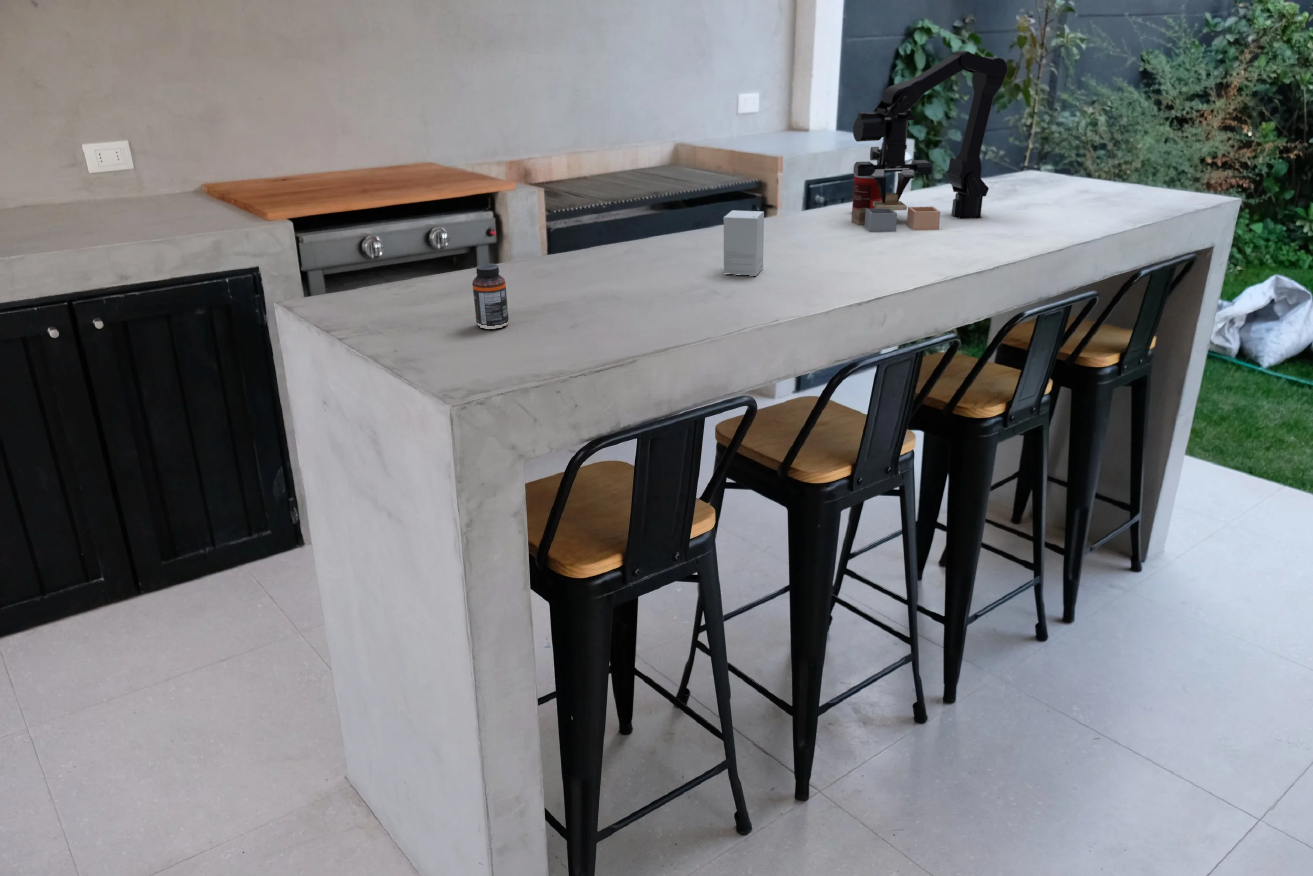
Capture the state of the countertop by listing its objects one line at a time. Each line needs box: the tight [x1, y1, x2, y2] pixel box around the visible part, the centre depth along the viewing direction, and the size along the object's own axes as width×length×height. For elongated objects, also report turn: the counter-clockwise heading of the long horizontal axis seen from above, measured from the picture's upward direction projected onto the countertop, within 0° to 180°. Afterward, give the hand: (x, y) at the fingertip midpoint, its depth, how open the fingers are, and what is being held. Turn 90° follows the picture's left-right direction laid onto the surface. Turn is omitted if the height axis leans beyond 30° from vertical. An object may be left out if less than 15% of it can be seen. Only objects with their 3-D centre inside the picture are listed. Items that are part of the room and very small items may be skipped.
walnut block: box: [850, 208, 868, 226], centre depth 253 cm, size 4×4×4 cm
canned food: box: [851, 174, 882, 210], centre depth 264 cm, size 8×8×11 cm
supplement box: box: [722, 209, 765, 277], centre depth 212 cm, size 7×7×13 cm
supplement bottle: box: [472, 263, 510, 326], centre depth 180 cm, size 6×6×11 cm
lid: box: [873, 192, 908, 211], centre depth 253 cm, size 7×7×4 cm
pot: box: [906, 206, 941, 231], centre depth 248 cm, size 6×6×5 cm
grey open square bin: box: [863, 208, 898, 233], centre depth 247 cm, size 6×6×5 cm
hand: (889, 202), depth 253 cm, fingers closed on lid, 3 cm apart
